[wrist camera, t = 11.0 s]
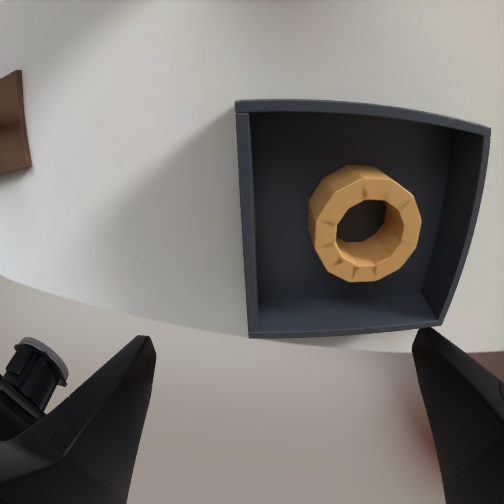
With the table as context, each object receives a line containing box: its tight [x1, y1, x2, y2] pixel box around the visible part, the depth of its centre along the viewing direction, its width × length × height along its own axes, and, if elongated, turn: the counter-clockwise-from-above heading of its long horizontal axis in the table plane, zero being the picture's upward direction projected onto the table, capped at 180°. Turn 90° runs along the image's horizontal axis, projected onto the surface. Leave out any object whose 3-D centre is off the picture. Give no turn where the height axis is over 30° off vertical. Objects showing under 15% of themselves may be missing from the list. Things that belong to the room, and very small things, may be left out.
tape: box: [308, 165, 421, 282], centre depth 17 cm, size 6×6×3 cm
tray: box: [235, 99, 491, 338], centre depth 17 cm, size 14×14×4 cm
